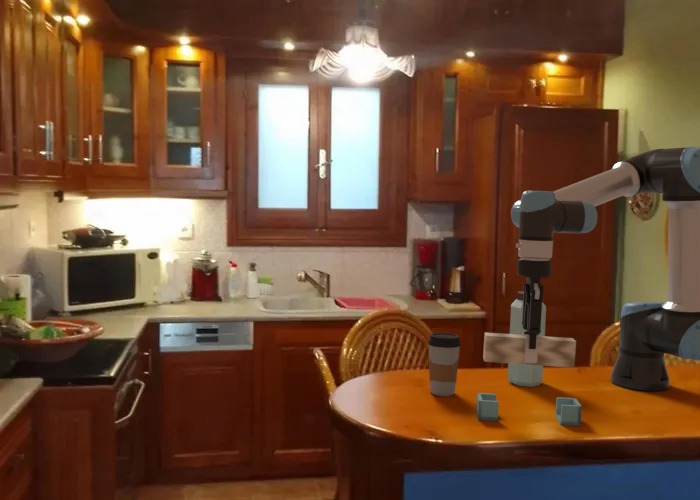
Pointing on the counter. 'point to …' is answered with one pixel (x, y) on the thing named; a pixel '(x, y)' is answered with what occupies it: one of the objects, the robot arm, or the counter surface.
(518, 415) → the counter surface
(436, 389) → the coffee cup
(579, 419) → the end caps
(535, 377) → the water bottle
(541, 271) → the robot arm
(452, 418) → the counter surface
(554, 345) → the slat
